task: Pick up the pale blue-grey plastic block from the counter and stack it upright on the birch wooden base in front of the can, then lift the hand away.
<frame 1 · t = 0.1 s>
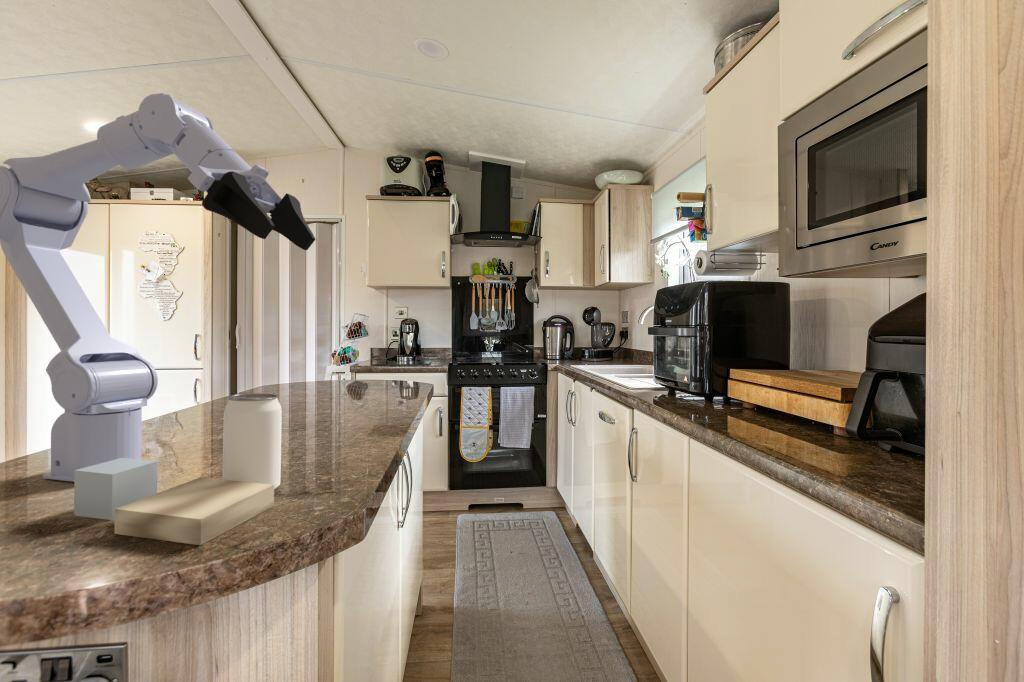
hand: (290, 238, 56), 32 cm above the counter, tool tilted 50°, fingers open, 7 cm apart
base: (200, 518, 49), on the counter
block: (117, 509, 51), on the counter
can: (252, 491, 58), on the counter
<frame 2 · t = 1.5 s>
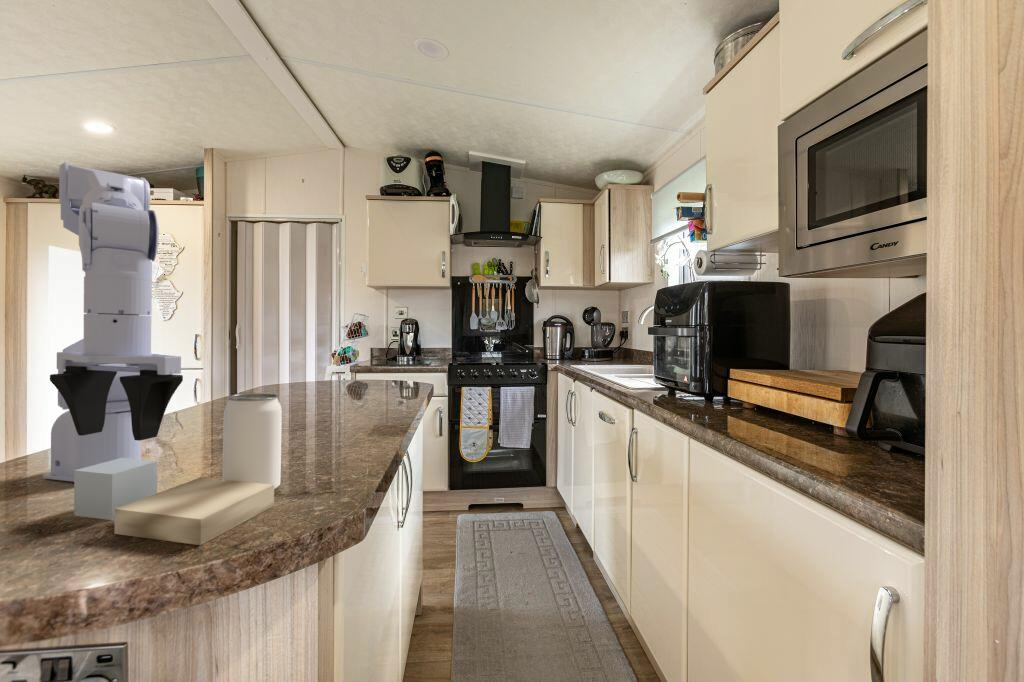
hand: (117, 436, 51), 8 cm above the counter, tool pointing down, fingers open, 7 cm apart
nothing on the counter moved.
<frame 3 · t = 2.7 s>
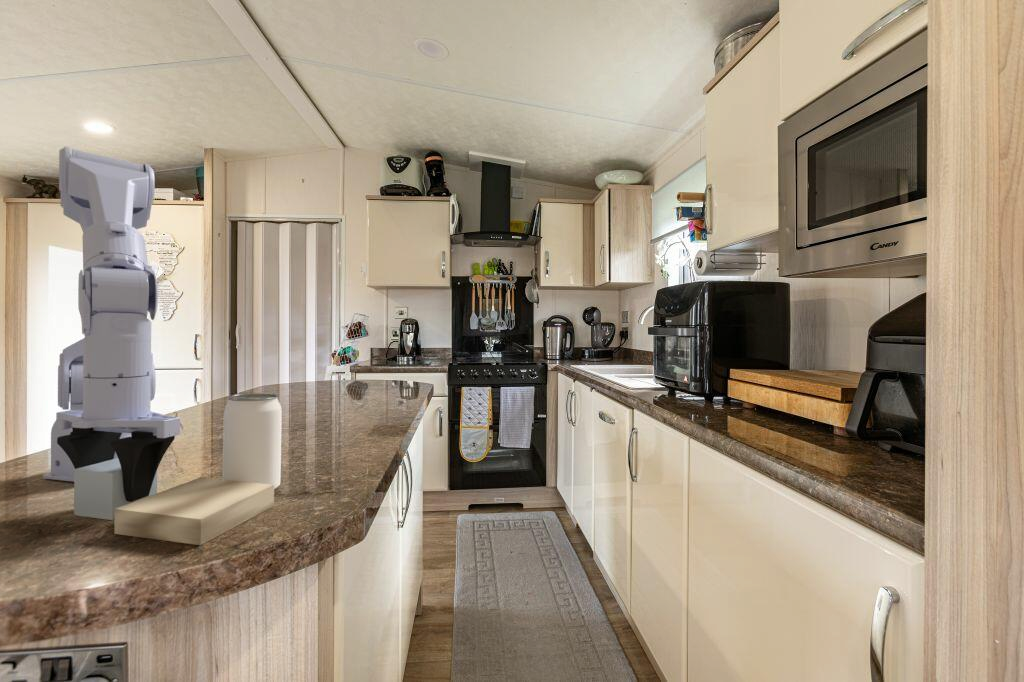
hand: (117, 496, 51), 1 cm above the counter, tool pointing down, fingers closed on block, 5 cm apart
block: (117, 508, 51), on the counter, touching gripper
everything else where it was.
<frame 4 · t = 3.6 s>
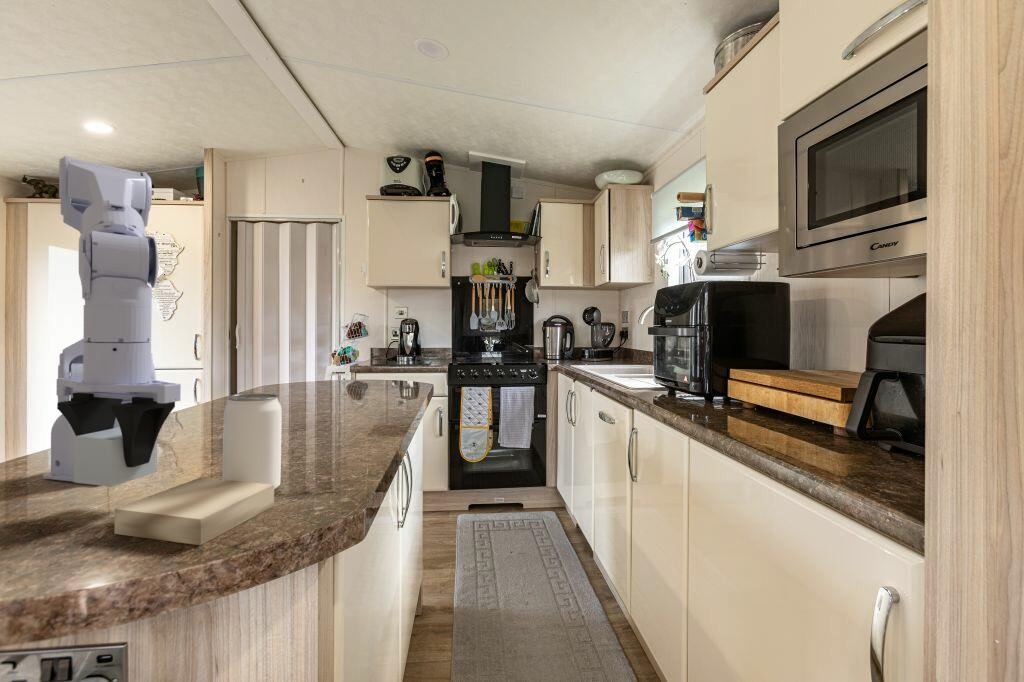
hand: (117, 462, 51), 5 cm above the counter, tool pointing down, fingers closed on block, 5 cm apart
block: (116, 477, 51), point 4 cm above the counter, touching gripper
everything else where it was.
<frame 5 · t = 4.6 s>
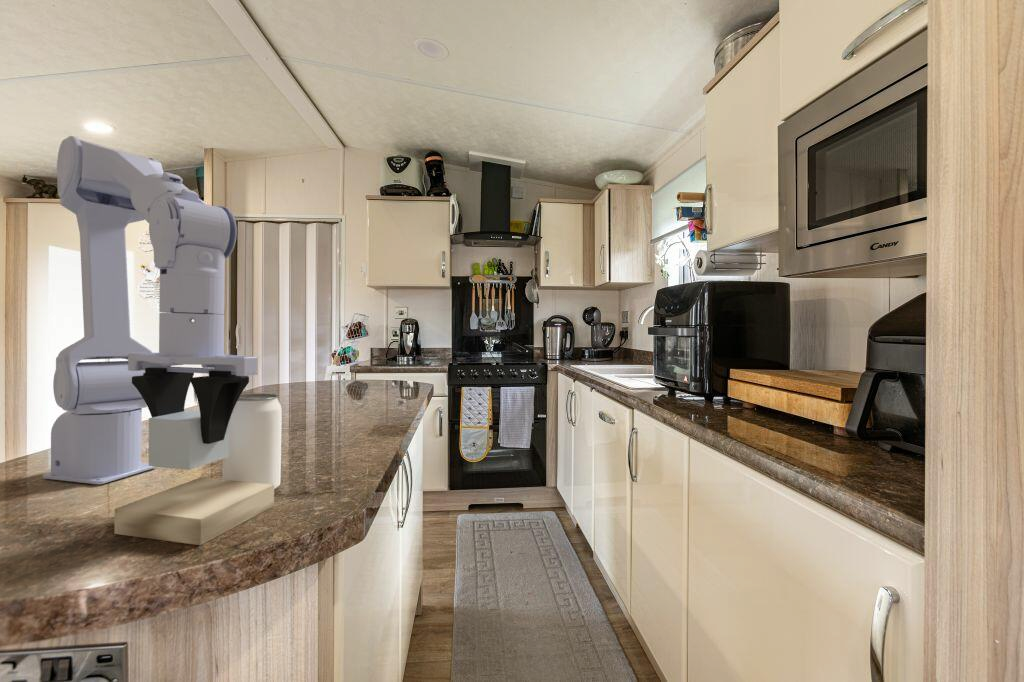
hand: (191, 439, 49), 9 cm above the counter, tool pointing down, fingers closed on block, 5 cm apart
block: (190, 461, 49), point 6 cm above the counter, touching gripper
everything else where it was.
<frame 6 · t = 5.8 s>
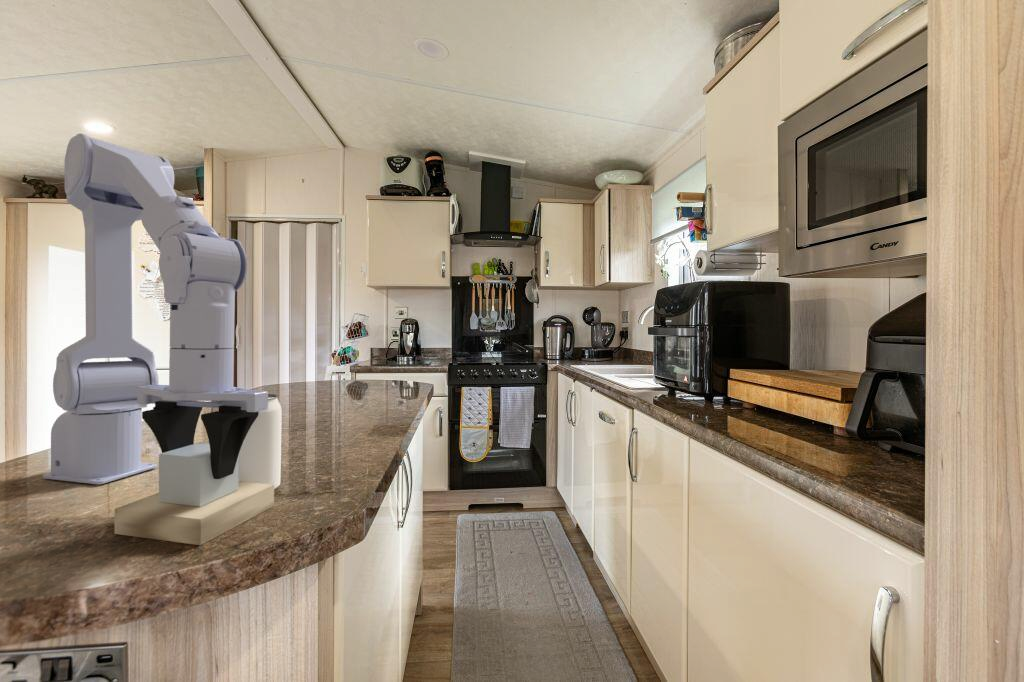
hand: (201, 473, 49), 5 cm above the counter, tool pointing down, fingers closed on block, 5 cm apart
block: (200, 495, 49), point 3 cm above the counter, touching gripper
everything else where it was.
when the fingers open (5 cm above the counter, at t = 5.9 s): block stays where it is, resting on base.
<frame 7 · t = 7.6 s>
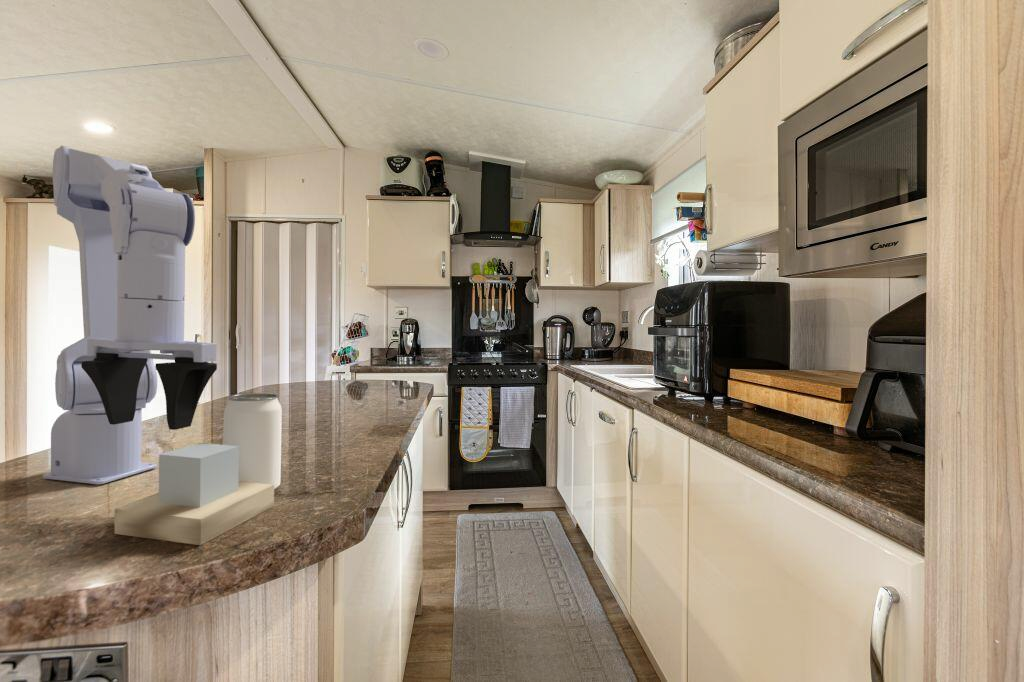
hand: (150, 425, 49), 10 cm above the counter, tool pointing down, fingers open, 7 cm apart
block: (200, 496, 49), point 2 cm above the counter, touching base
everything else where it was.
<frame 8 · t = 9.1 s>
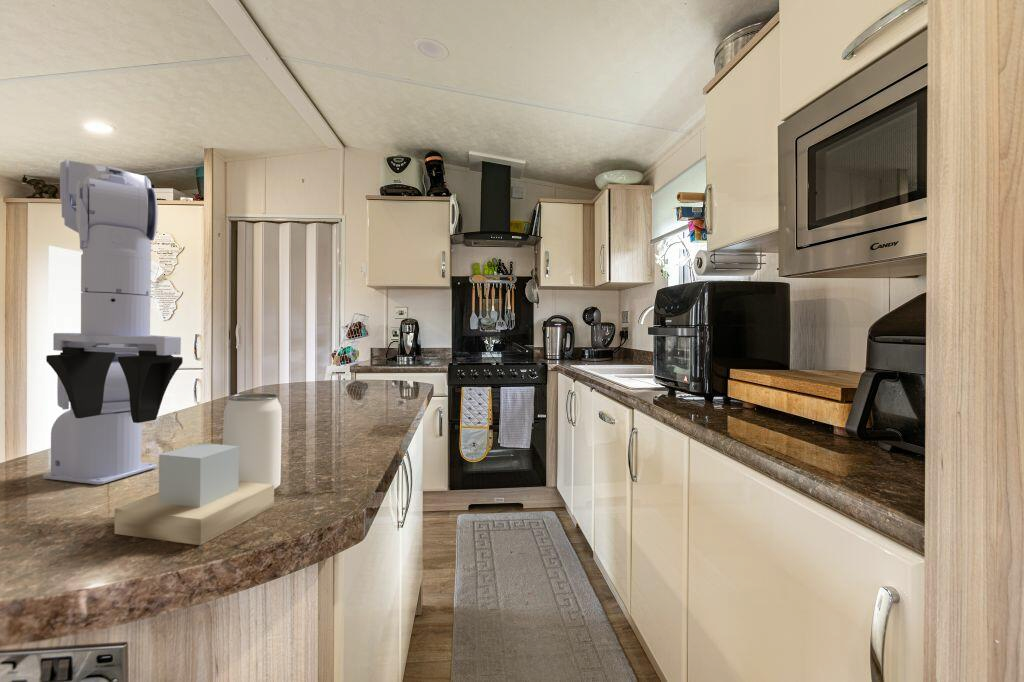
hand: (115, 418, 50), 10 cm above the counter, tool pointing down, fingers open, 7 cm apart
nothing on the counter moved.
at the end: block 0.1 cm off-centre on the base, point 2.5 cm above the base's base; block tilted 0°; block touching base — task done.
